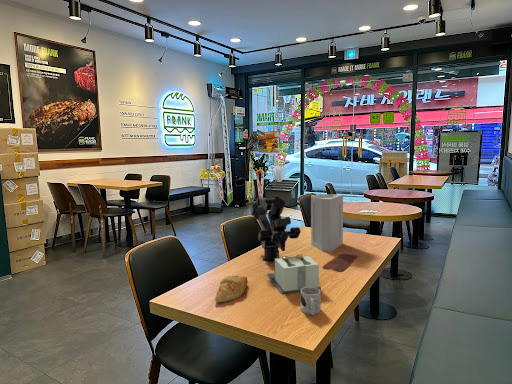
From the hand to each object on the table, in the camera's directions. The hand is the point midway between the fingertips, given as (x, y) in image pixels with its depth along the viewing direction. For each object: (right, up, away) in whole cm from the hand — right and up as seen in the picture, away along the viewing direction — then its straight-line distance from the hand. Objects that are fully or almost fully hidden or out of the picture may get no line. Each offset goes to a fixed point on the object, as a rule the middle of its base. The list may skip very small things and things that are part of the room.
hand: (283, 250), depth 149 cm
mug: (+6, -15, -35) cm, 39 cm away
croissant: (-21, -13, -19) cm, 31 cm away
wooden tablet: (+29, -9, +14) cm, 33 cm away
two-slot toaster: (+4, -12, -13) cm, 18 cm away
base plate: (+3, -11, -9) cm, 15 cm away
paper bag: (+26, -5, +42) cm, 49 cm away
